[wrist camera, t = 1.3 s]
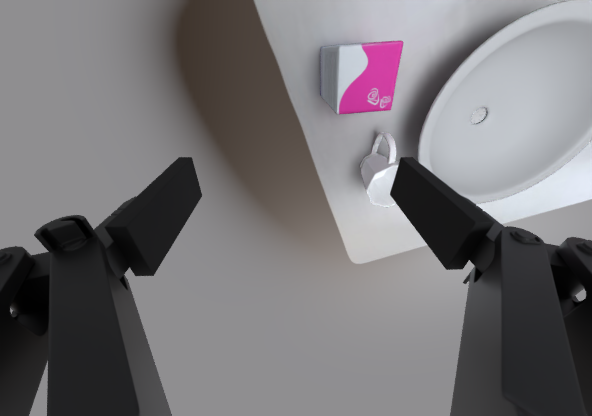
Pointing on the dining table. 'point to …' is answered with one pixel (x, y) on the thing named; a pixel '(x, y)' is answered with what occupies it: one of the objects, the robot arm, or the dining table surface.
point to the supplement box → (360, 76)
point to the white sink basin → (515, 106)
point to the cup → (380, 173)
